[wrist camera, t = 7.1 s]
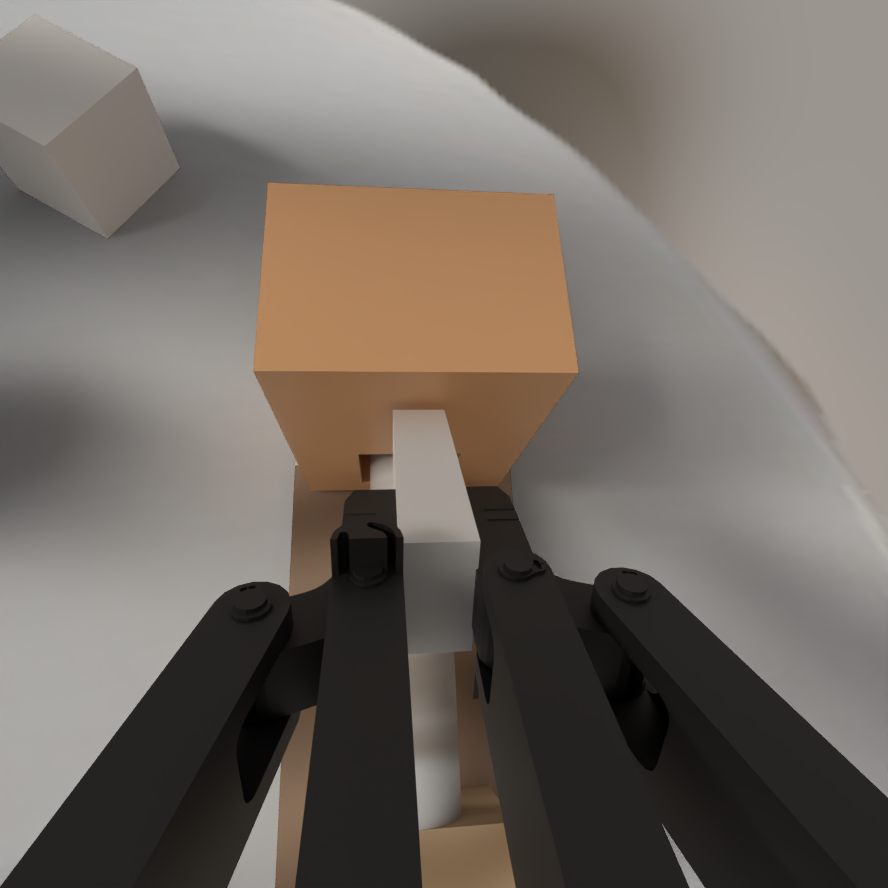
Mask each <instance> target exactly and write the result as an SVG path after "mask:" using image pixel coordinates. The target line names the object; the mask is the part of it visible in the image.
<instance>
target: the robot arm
mask: <svg viewBox="0 0 888 888" xmlns="http://www.w3.org/2000/svg"><path fill="white" fill-rule="evenodd" d="M330 550H331V567H332V577H331V578H330V579H329V580H328V581H327V582H325V583H324V584H323V585H321V586H319V587H317V588H315V589H313V590H310V591H307V592H304V593H301V594H297V595H293V596H289V594H288V592H287V591H286V590H285V589H284V588H282V587H281V586H280V585H277V584H273V583H270V582H251V583H247V584H243V585H239V586H236V587H234V588H233V589H231V590H229V591H227V592H225V593H224V594H223V595H222V596H220V597H219V598H218V599H217V600H216V601H215V602H214V603H213V605H212V606H211V607H210V609H209V610H208V611H207V613H206V614H205V615H204V617H203V618H202V619H201V621H200V622H199V623H198V625H197V626H196V627H195V629H194V630H193V631H192V633H191V634H190V635H189V637H188V638H187V639H186V641H185V642H184V643H183V645H182V646H181V647H180V649H179V650H178V651H177V653H176V654H175V655H174V657H173V658H172V659H171V661H170V662H169V663H168V665H167V666H166V667H165V669H164V670H163V671H162V673H161V674H160V675H159V677H158V678H157V679H156V681H155V682H154V683H153V685H152V686H151V687H150V689H149V690H148V691H147V693H146V694H145V695H144V696H143V698H142V699H141V700H140V702H139V703H138V704H137V706H136V707H135V708H134V710H133V711H132V712H131V714H130V715H129V716H128V718H127V719H126V720H125V722H124V723H123V724H122V726H121V727H120V728H119V730H118V731H117V732H116V734H115V735H114V736H113V738H112V739H111V740H110V742H109V743H108V744H107V746H106V747H105V748H104V750H103V751H102V752H101V754H100V755H99V756H98V758H97V759H96V760H95V762H94V763H93V764H92V766H91V767H90V768H89V770H88V771H87V772H86V774H85V775H84V776H83V778H82V779H81V780H80V782H79V783H78V784H77V786H76V787H75V788H74V789H73V791H72V792H71V793H70V795H69V796H68V797H67V799H66V800H65V801H64V803H63V804H62V805H61V807H60V808H59V809H58V811H57V812H56V813H55V815H54V816H53V817H52V819H51V820H50V821H49V823H48V824H47V825H46V827H45V828H44V829H43V831H42V832H41V833H40V835H39V836H38V837H37V839H36V840H35V841H34V843H33V844H32V845H31V847H30V848H29V849H28V851H27V852H26V853H25V855H24V856H23V857H22V859H21V860H20V861H19V863H18V864H17V865H16V867H15V868H14V869H13V871H12V872H11V873H10V875H9V876H8V877H7V879H6V880H5V881H4V882H3V884H2V885H1V886H0V888H227V887H228V884H229V882H230V880H231V877H232V875H233V873H234V870H235V868H236V866H237V863H238V861H239V859H240V856H241V854H242V852H243V849H244V847H245V845H246V842H247V840H248V837H249V835H250V833H251V830H252V828H253V826H254V823H255V821H256V819H257V816H258V814H259V812H260V809H261V807H262V805H263V802H264V800H265V798H266V795H267V793H268V791H269V788H270V786H271V784H272V781H273V779H274V777H275V774H276V772H277V770H278V767H279V765H280V763H281V760H282V758H283V756H284V753H285V751H286V749H287V746H288V744H289V742H290V739H291V737H292V735H293V732H294V730H295V728H296V725H297V723H298V721H299V718H300V713H301V711H302V710H305V709H307V708H310V707H313V706H316V705H317V706H316V715H315V723H314V731H313V740H312V748H311V757H310V765H309V773H308V782H307V790H306V798H305V807H304V815H303V824H302V832H301V840H300V849H299V857H298V865H297V874H296V882H295V888H422V873H421V856H420V840H419V823H418V807H417V791H416V774H415V758H414V741H413V725H412V708H411V692H410V676H409V659H408V654H420V653H440V652H460V651H472V641H473V635H474V640H475V645H476V650H477V652H476V664H475V675H474V687H473V699H478V696H479V695H480V701H481V706H482V711H483V716H484V722H485V727H486V732H487V738H488V743H489V748H490V754H491V759H492V764H493V770H494V775H495V780H496V786H497V791H498V796H499V802H500V807H501V812H502V818H503V823H504V828H505V833H506V839H507V844H508V849H509V855H510V860H511V865H512V871H513V876H514V881H515V887H516V888H689V886H688V883H687V881H686V879H685V876H684V874H683V872H682V870H681V867H680V865H679V863H678V860H677V858H676V856H675V853H674V851H673V849H672V847H671V844H670V842H669V840H668V837H667V835H666V833H665V830H664V828H663V826H664V827H665V828H666V830H667V831H668V833H669V834H670V836H671V837H672V839H673V840H674V842H675V843H676V845H677V846H678V848H679V849H680V851H681V852H682V854H683V855H684V857H685V858H686V860H687V861H688V863H689V864H690V866H691V867H692V869H693V870H694V872H695V873H696V875H697V876H698V878H699V879H700V881H701V882H702V884H703V885H704V887H705V888H888V798H887V797H886V796H885V795H884V794H883V793H882V792H881V791H880V790H879V789H878V788H877V787H876V786H875V785H874V784H873V783H872V782H870V781H869V780H868V779H867V778H866V777H865V776H864V775H863V774H862V773H861V772H860V771H859V770H858V769H857V768H856V767H855V766H853V765H852V764H851V763H850V762H849V761H848V760H847V759H846V758H845V757H844V756H843V755H842V754H841V753H840V752H839V751H838V750H837V749H835V748H834V747H833V746H832V745H831V744H830V743H829V742H828V741H827V740H826V739H825V738H824V737H823V736H822V735H821V734H820V733H819V732H817V731H816V730H815V729H814V728H813V727H812V726H811V725H810V724H809V723H808V722H807V721H806V720H805V719H804V718H803V717H802V716H800V715H799V714H798V713H797V712H796V711H795V710H794V709H793V708H792V707H791V706H790V705H789V704H788V703H787V702H786V701H785V700H784V699H782V698H781V697H780V696H779V695H778V694H777V693H776V692H775V691H774V690H773V689H772V688H771V687H770V686H769V685H768V684H767V683H765V682H764V681H763V680H762V679H761V678H760V677H759V676H758V675H757V674H756V673H755V672H754V671H753V670H752V669H751V668H750V667H749V666H747V665H746V664H745V663H744V662H743V661H742V660H741V659H740V658H739V657H738V656H737V655H736V654H735V653H734V652H733V651H732V650H731V649H729V648H728V647H727V646H726V645H725V644H724V643H723V642H722V641H721V640H720V639H719V638H718V637H717V636H716V635H715V634H714V633H712V632H711V631H710V630H709V629H708V628H707V627H706V626H705V625H704V624H703V623H702V622H701V621H700V620H699V619H698V618H697V617H696V616H694V615H693V614H692V613H691V612H690V611H689V610H688V609H687V608H686V607H685V606H684V605H683V604H682V603H681V602H680V601H679V600H678V599H676V598H675V597H674V596H673V595H672V594H671V593H670V592H669V591H668V590H667V589H666V588H665V587H664V586H663V585H662V584H661V583H659V582H658V581H656V580H655V579H654V578H652V577H651V576H649V575H647V574H645V573H642V572H640V571H637V570H633V569H628V568H609V569H607V570H605V571H602V572H600V573H599V574H598V576H597V577H596V578H595V581H594V585H591V584H585V583H580V582H574V581H570V580H566V579H562V578H560V577H557V576H555V575H554V574H553V572H552V570H551V568H550V567H549V565H548V564H547V563H546V561H545V560H543V559H542V558H540V557H539V556H537V555H536V554H533V553H532V550H531V548H530V545H529V543H528V541H527V538H526V536H525V533H524V531H523V528H522V526H521V523H520V521H519V518H518V516H517V513H516V511H515V510H514V506H513V504H512V501H511V499H510V496H508V495H507V494H506V493H505V492H504V491H502V490H501V489H500V488H499V487H498V486H469V487H465V483H464V479H463V476H462V472H461V468H460V465H459V461H458V458H457V454H456V450H455V447H454V443H453V439H452V436H451V432H450V429H449V425H448V421H447V418H446V414H445V410H393V489H378V490H354V491H353V492H352V493H351V495H350V496H349V497H348V498H347V499H346V500H345V503H344V511H343V520H342V525H341V526H340V527H339V528H337V529H336V530H335V531H334V532H333V534H332V536H331V538H330ZM662 824H663V826H662Z"/></svg>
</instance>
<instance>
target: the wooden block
mask: <svg viewBox="0 0 888 888" xmlns="http://www.w3.org/2000/svg"><path fill="white" fill-rule="evenodd" d="M253 371H254V373H255V375H256V378H257V380H258V382H259V384H260V386H261V388H262V390H263V392H264V394H265V396H266V398H267V400H268V403H269V405H270V407H271V409H272V411H273V413H274V415H275V417H276V419H277V421H278V423H279V425H280V428H281V430H282V432H283V434H284V436H285V438H286V440H287V442H288V444H289V446H290V448H291V450H292V453H293V455H294V457H295V459H296V461H297V463H298V465H299V467H300V469H301V471H302V473H303V476H304V478H305V480H306V482H307V484H308V486H309V488H310V490H311V491H336V490H370V454H393V410H445V414H446V418H447V421H448V425H449V429H450V432H451V436H452V439H453V443H454V447H455V450H456V454H457V458H458V461H459V465H460V468H461V472H462V476H463V479H464V483H465V487H469V486H498V485H499V484H500V482H501V481H502V479H503V478H504V477H505V475H506V474H507V472H508V471H509V470H510V468H511V467H512V465H513V464H514V463H515V461H516V460H517V458H518V457H519V456H520V454H521V453H522V451H523V450H524V449H525V447H526V446H527V444H528V443H529V442H530V440H531V439H532V438H533V436H534V435H535V433H536V432H537V431H538V429H539V428H540V426H541V425H542V424H543V422H544V421H545V419H546V418H547V417H548V415H549V414H550V412H551V411H552V410H553V408H554V407H555V405H556V404H557V403H558V401H559V400H560V398H561V397H562V396H563V394H564V393H565V391H566V390H567V389H568V387H569V386H570V384H571V383H572V382H573V380H574V379H575V377H576V376H577V375H578V373H579V371H578V364H577V357H576V350H575V343H574V335H573V328H572V321H571V314H570V307H569V300H568V293H567V285H566V278H565V271H564V264H563V257H562V250H561V242H560V235H559V228H558V221H557V214H556V207H555V200H554V195H552V194H529V193H505V192H481V191H457V190H433V189H409V188H386V187H362V186H338V185H314V184H290V183H268V190H267V203H266V215H265V228H264V241H263V254H262V266H261V279H260V292H259V305H258V318H257V330H256V343H255V356H254V369H253Z"/></svg>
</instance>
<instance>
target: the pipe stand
mask: <svg viewBox="0 0 888 888" xmlns="http://www.w3.org/2000/svg"><path fill="white" fill-rule="evenodd" d="M498 487H499V488H500V489H501V490H502V491H504V492H505V493H506V494H507V495H508V496H510V499H511V501H512V504H513V499H512V488H511V476H510V470H509V471H508V472H507V474H506V475H505V477H504V478H503V479H502V481H501V482H500V484H499V485H498ZM378 489H393V454H370V490H378ZM353 491H354V490H336V491H311V490H310V488H309V486H308V484H307V482H306V480H305V478H304V476H303V473H302V471H301V469H300V467H299V465H298V463H297V461H296V459H295V479H294V500H293V521H292V543H291V564H290V585H289V596H293V595H297V594H301V593H304V592H307V591H310V590H313V589H315V588H317V587H319V586H321V585H323V584H324V583H325V582H327V581H328V580H329V579H330V578H331V577H332V567H331V550H330V538H331V536H332V534H333V532H334V531H335V530H336V529H337V528H339V527H340V526H341V525H342V520H343V511H344V503H345V500H346V499H347V498H348V497H349V496H350V495H351V493H352V492H353ZM476 652H477V650H476V645H475V640H474V635H473V641H472V651H460V652H440V653H420V654H408V659H409V676H410V692H411V708H412V725H413V741H414V758H415V774H416V791H417V807H418V823H419V840H420V856H421V873H422V888H516V887H515V881H514V876H513V871H512V865H511V860H510V855H509V849H508V844H507V839H506V833H505V828H504V823H503V818H502V812H501V807H500V802H499V796H498V791H497V786H496V780H495V775H494V770H493V764H492V759H491V754H490V748H489V743H488V738H487V732H486V727H485V722H484V716H483V711H482V706H481V701H480V695H479V696H478V699H473V687H474V675H475V664H476ZM316 706H317V705H316ZM316 706H313V707H310V708H307V709H305V710H302V711H301V713H300V718H299V721H298V723H297V725H296V728H295V730H294V732H293V735H292V737H291V739H290V742H289V744H288V746H287V749H286V751H285V753H284V756H283V758H282V760H281V776H280V797H279V818H278V840H277V861H276V882H275V888H295V882H296V874H297V865H298V857H299V849H300V840H301V832H302V824H303V815H304V807H305V798H306V790H307V782H308V773H309V765H310V757H311V748H312V740H313V731H314V723H315V715H316Z"/></svg>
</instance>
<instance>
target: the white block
mask: <svg viewBox="0 0 888 888" xmlns="http://www.w3.org/2000/svg"><path fill="white" fill-rule="evenodd" d="M0 167H1V168H2V170H3V171H4V172H5V173H6V175H7V176H8V177H9V178H10V180H11V181H12V182H13V183H14V185H15V186H16V187H17V188H18V189H19V190H21V191H23V192H25V193H26V194H28V195H30V196H32V197H34V198H35V199H37V200H39V201H41V202H43V203H44V204H46V205H48V206H50V207H51V208H53V209H55V210H57V211H59V212H60V213H62V214H64V215H66V216H68V217H69V218H71V219H73V220H75V221H76V222H78V223H80V224H82V225H84V226H85V227H87V228H89V229H91V230H93V231H94V232H96V233H98V234H100V235H101V236H103V237H105V238H107V239H108V238H109V237H110V236H111V235H112V234H113V233H114V232H115V231H116V230H117V229H118V228H119V227H120V226H121V225H122V224H123V223H124V222H126V221H127V220H128V219H129V218H130V217H131V216H132V215H133V214H134V213H135V212H136V211H137V210H138V209H139V208H140V207H141V206H142V205H143V204H144V203H145V202H146V201H147V200H148V199H149V198H150V197H151V196H152V195H153V194H154V193H155V192H156V191H157V190H158V189H159V188H160V187H161V186H162V185H163V184H164V183H165V182H166V181H167V180H168V179H169V178H170V177H171V176H172V175H174V174H175V173H176V172H177V171H178V170H179V169H180V167H179V164H178V162H177V160H176V157H175V155H174V153H173V150H172V148H171V146H170V143H169V141H168V139H167V136H166V134H165V132H164V129H163V127H162V125H161V122H160V120H159V118H158V115H157V113H156V111H155V108H154V106H153V104H152V101H151V99H150V97H149V94H148V92H147V90H146V87H145V85H144V83H143V80H142V78H141V75H140V73H139V71H138V68H137V67H135V66H133V65H131V64H129V63H127V62H125V61H123V60H122V59H120V58H118V57H116V56H114V55H112V54H110V53H108V52H106V51H104V50H102V49H101V48H99V47H97V46H95V45H93V44H91V43H89V42H87V41H85V40H83V39H82V38H80V37H78V36H76V35H74V34H72V33H70V32H68V31H66V30H64V29H62V28H61V27H59V26H57V25H55V24H53V23H51V22H49V21H47V20H45V19H43V18H42V17H40V16H38V15H36V14H35V15H33V16H32V17H30V18H29V19H28V20H26V21H25V22H24V23H22V24H21V25H20V26H18V27H17V28H15V29H14V30H13V31H11V32H10V33H9V34H7V35H6V36H4V37H3V38H2V39H0Z"/></svg>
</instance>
